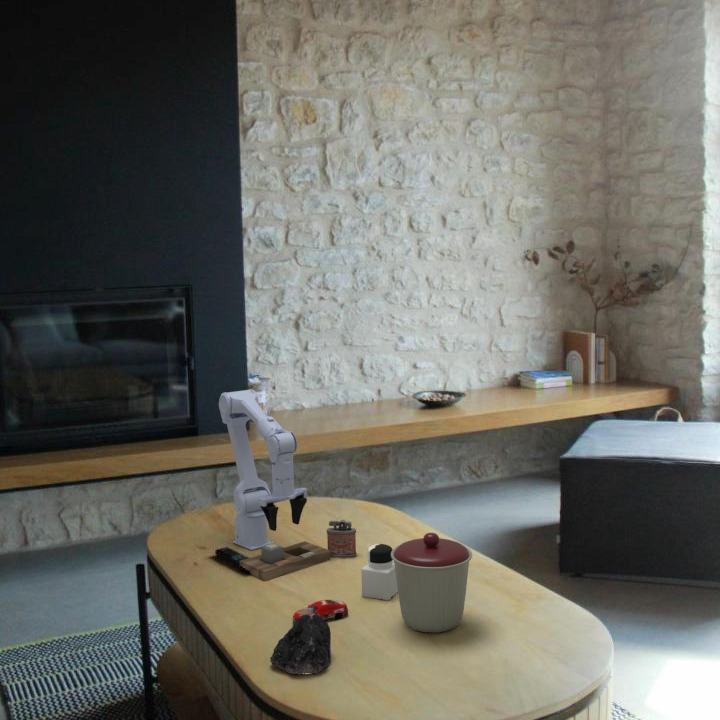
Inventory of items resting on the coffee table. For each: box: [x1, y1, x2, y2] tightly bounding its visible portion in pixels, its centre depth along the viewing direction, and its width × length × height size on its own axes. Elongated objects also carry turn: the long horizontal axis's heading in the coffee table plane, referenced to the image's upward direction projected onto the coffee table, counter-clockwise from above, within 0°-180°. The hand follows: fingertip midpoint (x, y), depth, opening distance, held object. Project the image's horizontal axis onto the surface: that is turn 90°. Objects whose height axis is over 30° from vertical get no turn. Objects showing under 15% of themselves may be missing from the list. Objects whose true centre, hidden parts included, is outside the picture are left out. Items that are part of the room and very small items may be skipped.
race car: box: [292, 599, 349, 623], centre depth 217 cm, size 13×5×4 cm, turn 116°
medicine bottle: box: [360, 543, 398, 601], centre depth 231 cm, size 7×7×12 cm
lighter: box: [326, 519, 358, 559], centre depth 258 cm, size 8×3×10 cm, turn 84°
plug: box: [260, 543, 284, 565], centre depth 250 cm, size 4×4×6 cm
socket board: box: [239, 541, 332, 582], centre depth 253 cm, size 11×22×3 cm, turn 132°
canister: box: [391, 532, 473, 634], centre depth 212 cm, size 18×18×21 cm
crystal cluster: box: [270, 614, 332, 675], centre depth 195 cm, size 13×14×10 cm
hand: (284, 526), depth 255 cm, fingers open, 7 cm apart
